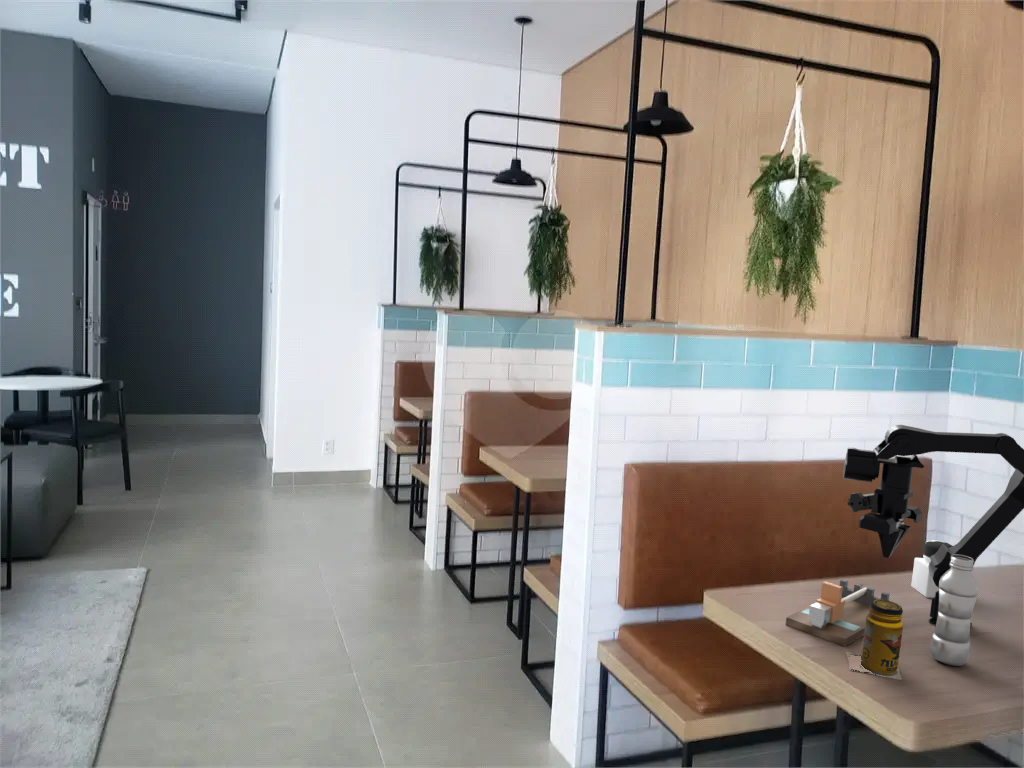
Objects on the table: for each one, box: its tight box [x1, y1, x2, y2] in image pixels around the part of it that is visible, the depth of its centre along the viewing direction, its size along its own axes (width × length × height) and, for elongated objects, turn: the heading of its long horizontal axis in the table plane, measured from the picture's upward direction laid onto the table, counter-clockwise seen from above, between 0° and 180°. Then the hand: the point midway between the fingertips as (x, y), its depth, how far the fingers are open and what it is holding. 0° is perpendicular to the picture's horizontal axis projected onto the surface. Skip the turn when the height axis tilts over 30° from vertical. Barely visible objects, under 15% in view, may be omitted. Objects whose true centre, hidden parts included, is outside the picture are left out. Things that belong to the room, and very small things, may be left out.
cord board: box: [785, 597, 870, 647], centre depth 163 cm, size 12×23×2 cm, turn 134°
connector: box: [808, 601, 832, 629], centre depth 155 cm, size 3×3×4 cm
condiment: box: [845, 599, 904, 681], centre depth 142 cm, size 7×8×12 cm
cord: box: [843, 587, 868, 604], centre depth 163 cm, size 1×20×1 cm, turn 134°
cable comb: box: [839, 578, 890, 606], centre depth 170 cm, size 10×1×4 cm, turn 44°
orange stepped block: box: [815, 581, 845, 623], centre depth 158 cm, size 4×5×7 cm
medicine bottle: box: [910, 539, 953, 599], centre depth 182 cm, size 7×7×12 cm
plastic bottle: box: [929, 554, 980, 667], centre depth 145 cm, size 6×7×20 cm
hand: (886, 557), depth 168 cm, fingers closed
